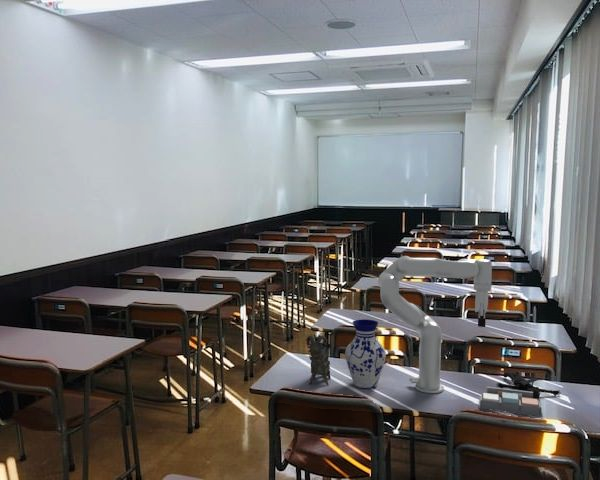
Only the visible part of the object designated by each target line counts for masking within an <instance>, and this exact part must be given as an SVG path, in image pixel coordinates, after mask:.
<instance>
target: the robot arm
mask: <svg viewBox="0 0 600 480" xmlns="http://www.w3.org/2000/svg"><path fill="white" fill-rule="evenodd" d="M492 270H493V264H492V261H491V260H490V259H482V258H479V259H469V258H461V259H458V260H457V261H456V260H454V261H453V260H446V259H442V258H438V257H437V258H436V257H410V256H408V255H402V256H400V257H398V258H397V259H396V260H395V261H394V262H392V264H390V265H389V266H388V267H387V268H386V269H384V270H383V272H381V273H380V275H379V276H378V278H377V279H378V280H377V283H378V286H379V288H380V292H379V293H380V294H379V295H380V300H381V302H382V305H383V306H384V307H385V308H386V309H387V310H388V311H390V313H392V314H393V315H395V317H396V318H398V319H399V320H400V321H401V322H402V323H403V324H404V325H405V326H407V327H410V328H411V329H412V330H414V332H416V333H417V334H418V335H419V337H420V338H419V345H418V346H419V347H418V351H419V352H418V354H419V356H418V359H419V360H418V364H419V365H418V377H417V376H416V377H413V376H412V377H411V376H410V377H409V379H408V380H409V382H411V384H415V389H416V390H417V391H419V392H422V393H426V394H439V393H441V392H443V391H444V389H445V388H444V385H443V384H441V357H442V356H441V353H442V352H441V350H442V349H441V348H442V342H443V341H442V340H443V332H442V329H441V327H440V325H439V324H438V323H437V322H436V321H435V320H434V319H433V318H432V317H430V315H428V314H426V312H424V311H423V310H421V309H420V308H419V307H418V306H417V305H415V303H412V302H409V301H408V300H407V299H406V298H404V297H403V296H402V295H401V294H400V291H399V289H400V281H401V280H402V279H404V277H422V278H423V277H427V278H428V277H430V278H431V277H432V278H434V277H435V278H448V279H450V278H451V279H472V278H473V290H474V291H475V305H474V306H475V307H474V308H475V310H474V311H475V313H477V312H478V317H477V327H480V328H486V313H487V312H488V305H489V292H491V291H492V274H493V273H492V272H493V271H492Z"/></svg>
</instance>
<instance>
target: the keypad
mask: <svg viewBox="0 0 600 480" xmlns="http://www.w3.org/2000/svg"><path fill="white" fill-rule="evenodd" d="M486 389H487V390H486V391H487V392H486V393H490V394H498V396H499V402H495V401H487V400H483V393H480V395H479V402H478V403H479V404H478V408H479V409H480V410H481V409H482V410H490V409H491V411H496V410H500V411H499V412H504V411H506V412H505V413H512V412H515V413H514V414H519V413H520V415H529V416H536V417H537V416H538V417H544V416H543V410H542V404H541V400H540V399H538V407H536V406H528V405H521V397H524V398H532V399H533V392H530V391H521V390H518V389H513V388H500V387H496V386H495V387H494V386H493V387H492V386H486ZM502 392H505V393H514V394H518V404H511V403H503V402H502Z"/></svg>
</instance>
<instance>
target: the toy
mask: <svg viewBox="0 0 600 480" xmlns="http://www.w3.org/2000/svg"><path fill="white" fill-rule="evenodd" d="M503 378H509V379H510V382H512V383H513V384H504V383H501V382H497V383H496V384H495V387H496V388H504V389H513V390H521V391H530V392H533V399H537V400H540V397H541V393H546V394H551V395H553V396H555V397H557V396H560V394H562V392H561V391H560V390H553V389H546V388H539V386H534V383H535V382H537V381H540V378H537V377H536V378H535V377H533V378H530V379H526V378H524V377H523V376H521V375H520V374H518V373H517V372H515V371H514V372H513V371H512V372H509V371H504V372H503Z"/></svg>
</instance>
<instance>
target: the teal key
mask: <svg viewBox="0 0 600 480" xmlns="http://www.w3.org/2000/svg"><path fill="white" fill-rule="evenodd" d="M502 402H503V403H511V404H518V394H514V393H505V392H502Z"/></svg>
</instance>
